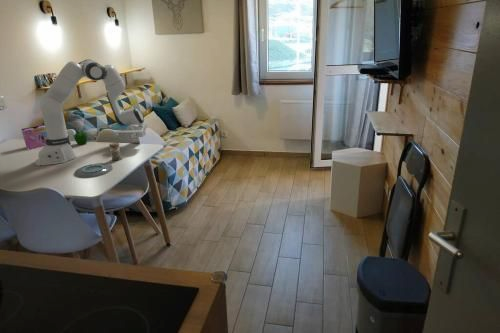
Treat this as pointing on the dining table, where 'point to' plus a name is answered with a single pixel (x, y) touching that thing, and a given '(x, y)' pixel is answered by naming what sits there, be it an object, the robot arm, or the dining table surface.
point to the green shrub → (80, 138)
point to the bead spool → (115, 151)
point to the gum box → (35, 136)
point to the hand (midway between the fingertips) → (123, 136)
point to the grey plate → (93, 170)
